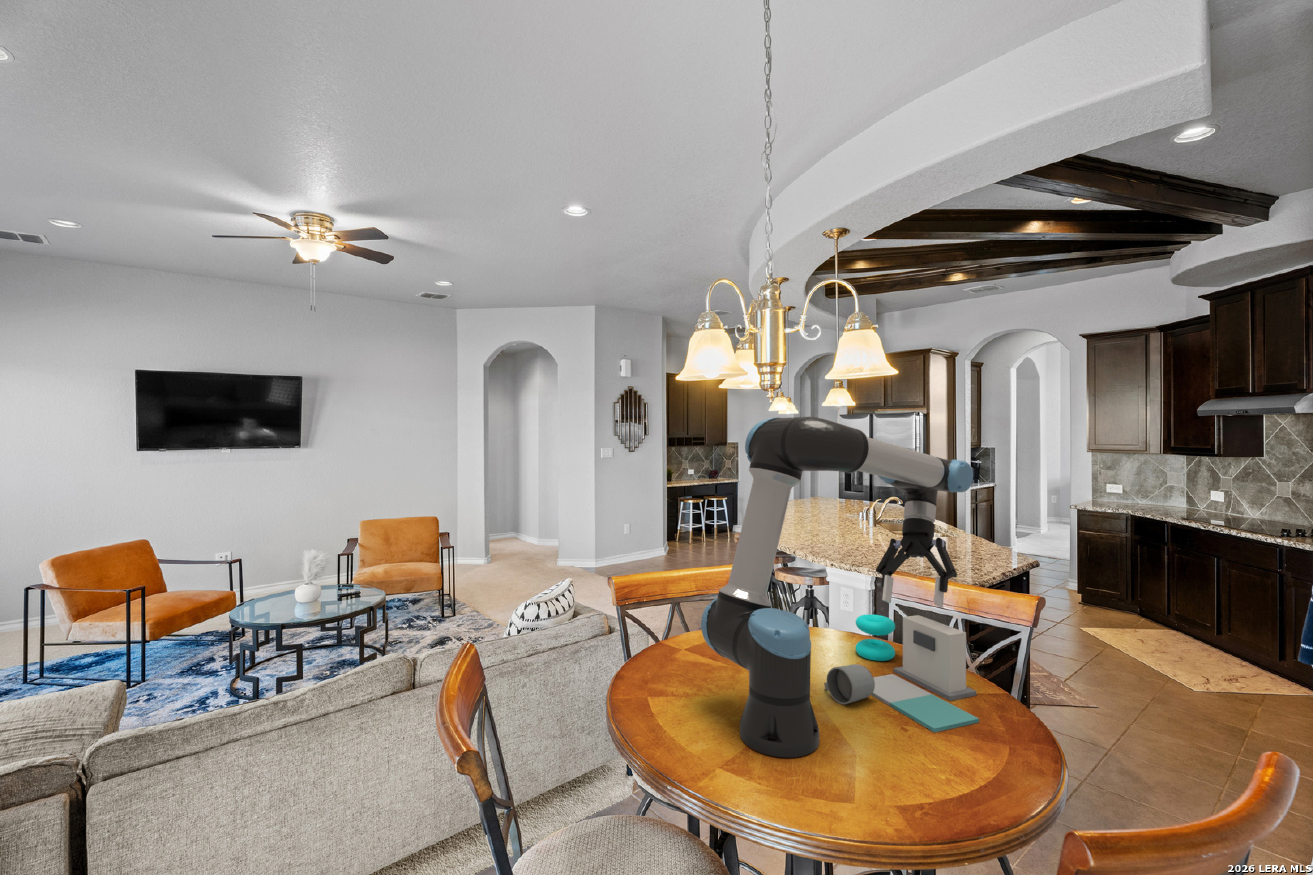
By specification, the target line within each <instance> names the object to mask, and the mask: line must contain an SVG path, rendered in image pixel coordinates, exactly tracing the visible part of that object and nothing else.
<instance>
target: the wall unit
mask: <svg viewBox="0 0 1313 875" xmlns="http://www.w3.org/2000/svg"><path fill="white" fill-rule="evenodd" d="M966 652H967V632H965V631H963V630H960V629H957V628H954V627H952V626H949V625H947V624H943V623H941V622H938V621H937V620H934V619H930V618H928V617H925V616H922V615H920V614H915V615H911V616H910V615H909V616H903V617H902V666H897V667H893V673H894V674H895V675H897V676H900V677H902V678H904V679H906V680H908V681H911V682H912V683H915V685H918V686H920V687H923V688H924V689H926V690H927V691H930V692H931V693H932V694H933V693H934V694H936V695H938V696H939V697H941V698H942V699H945V700H946V701H950V702H953V701H956V700H962V699H966V698H971V697H975V696H977V690H975V689H972V688H970V687H969V686H967V653H966Z"/></svg>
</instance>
